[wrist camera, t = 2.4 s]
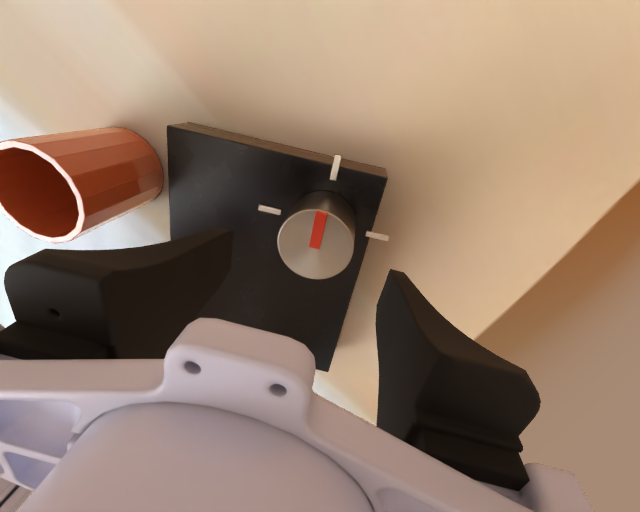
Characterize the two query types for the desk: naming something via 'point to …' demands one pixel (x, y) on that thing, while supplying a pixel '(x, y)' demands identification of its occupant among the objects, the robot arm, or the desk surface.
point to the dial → (318, 235)
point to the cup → (76, 180)
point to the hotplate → (268, 227)
